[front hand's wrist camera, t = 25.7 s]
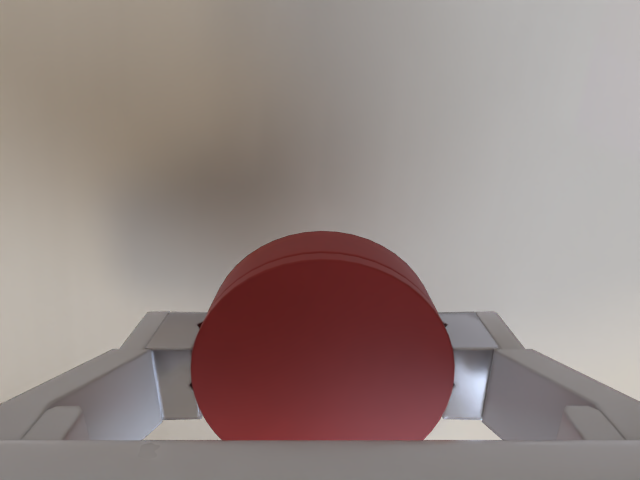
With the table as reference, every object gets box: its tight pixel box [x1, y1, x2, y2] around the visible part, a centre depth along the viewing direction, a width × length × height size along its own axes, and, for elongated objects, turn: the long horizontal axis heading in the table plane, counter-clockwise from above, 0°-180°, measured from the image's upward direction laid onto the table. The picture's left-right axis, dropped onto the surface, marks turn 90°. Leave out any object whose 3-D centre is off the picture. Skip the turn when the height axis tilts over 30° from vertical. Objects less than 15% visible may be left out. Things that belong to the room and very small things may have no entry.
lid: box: [190, 231, 455, 440], centre depth 9 cm, size 5×5×2 cm
